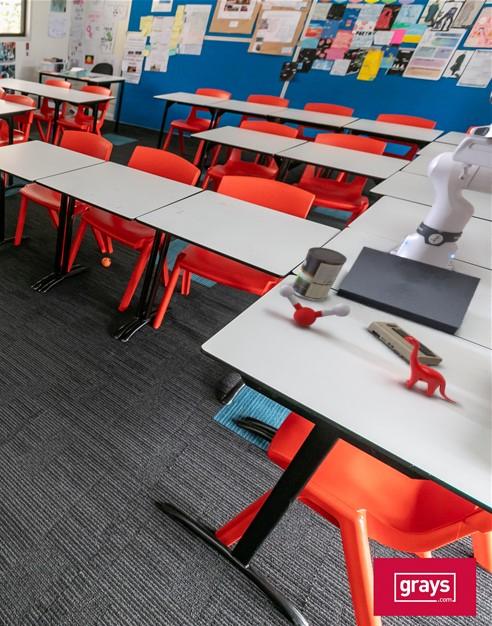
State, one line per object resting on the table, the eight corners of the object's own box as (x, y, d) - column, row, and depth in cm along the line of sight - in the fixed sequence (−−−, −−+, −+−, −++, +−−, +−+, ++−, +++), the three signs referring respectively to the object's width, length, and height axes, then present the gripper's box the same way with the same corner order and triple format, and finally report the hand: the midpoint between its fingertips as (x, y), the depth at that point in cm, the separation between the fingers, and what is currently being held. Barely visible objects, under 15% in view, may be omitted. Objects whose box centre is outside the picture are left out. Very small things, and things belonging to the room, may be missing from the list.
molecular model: (337, 333, 119) (354, 304, 114) (332, 341, 116) (349, 312, 110) (272, 308, 129) (284, 280, 124) (266, 315, 126) (279, 286, 120)
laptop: (349, 273, 150) (351, 268, 149) (457, 307, 134) (461, 302, 133) (335, 294, 138) (338, 289, 136) (453, 334, 121) (457, 329, 120)
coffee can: (286, 292, 138) (304, 253, 130) (296, 281, 144) (314, 244, 136) (321, 305, 132) (342, 265, 124) (330, 293, 138) (350, 255, 130)
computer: (439, 365, 109) (447, 355, 107) (410, 365, 109) (418, 356, 107) (392, 329, 122) (398, 320, 120) (366, 329, 122) (372, 320, 120)
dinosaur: (456, 408, 97) (492, 368, 90) (378, 378, 104) (405, 339, 97) (455, 399, 99) (490, 359, 92) (379, 370, 107) (406, 331, 100)
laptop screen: (362, 247, 143) (363, 246, 142) (479, 280, 127) (481, 278, 126) (338, 290, 136) (339, 288, 136) (457, 330, 120) (459, 328, 119)
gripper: (570, 142, 110) (531, 195, 117) (478, 128, 126) (448, 175, 133) (558, 141, 107) (518, 194, 115) (465, 127, 124) (436, 175, 131)
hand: (480, 184), depth 124 cm, fingers open, 8 cm apart
